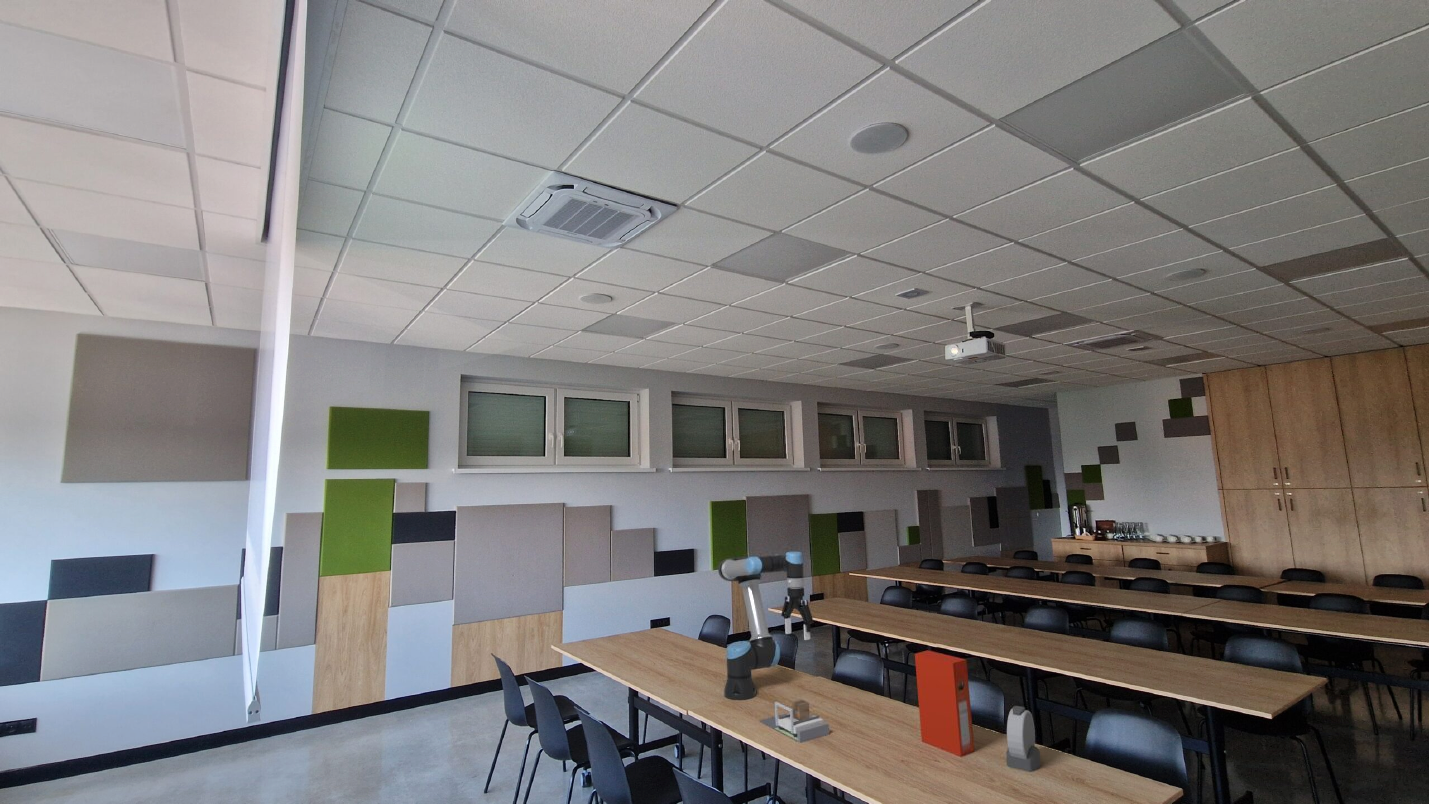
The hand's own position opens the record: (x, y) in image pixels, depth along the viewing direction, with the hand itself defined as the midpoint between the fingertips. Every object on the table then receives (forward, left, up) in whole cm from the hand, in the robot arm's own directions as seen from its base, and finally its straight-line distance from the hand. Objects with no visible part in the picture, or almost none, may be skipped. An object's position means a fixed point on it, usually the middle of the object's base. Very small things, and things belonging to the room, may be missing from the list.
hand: (797, 636), depth 277 cm
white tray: (+17, -15, -31) cm, 39 cm away
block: (+17, -14, -27) cm, 34 cm away
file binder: (+61, +20, -32) cm, 71 cm away
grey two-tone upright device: (+85, +30, -32) cm, 95 cm away
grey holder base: (+12, -15, -31) cm, 37 cm away
